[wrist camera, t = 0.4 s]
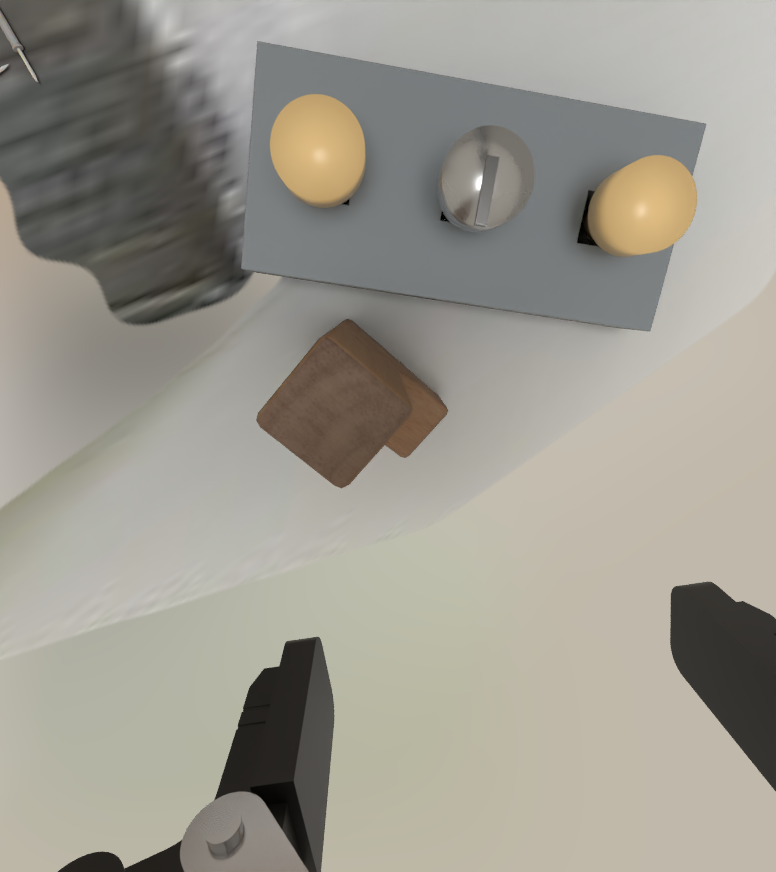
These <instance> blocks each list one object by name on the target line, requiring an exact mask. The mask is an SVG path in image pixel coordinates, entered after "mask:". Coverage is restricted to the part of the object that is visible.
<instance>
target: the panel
mask: <svg viewBox="0 0 776 872" xmlns="http://www.w3.org/2000/svg"><path fill="white" fill-rule="evenodd" d="M309 94H321V95H326V96H330V97H332V98H335V99H337V100H338V101H340V102H342V103H343V104H344V105H346V106H347V107H348V108H349V109H350V110H351V111H352V113H353V114H354V115H355V117H356V118H357V120H358V122H359V124H360V126H361V129H362V132H363V135H364V140H365V157H366V165H365V173H364V177H363V180H362V182H361V184H360V186H359V188H358V189H357V191H356V192H355V193H354V195H353V196H352V197H350V201H349V205H343V204H340V205H337V206H334V207H329V208H318V207H314V206H310V205H308V204H306V203H304V202H302V201H300V200H299V199H298V198H296V197H295V196H294V195H293V194H292V193H291V191H290V190H289V189H288V188H287V186H286V185H285V184H284V182H283V181H282V179H281V178H280V176H279V175H278V173H277V171H276V169H275V167H274V164H273V162H272V158H271V152H270V137H271V131H272V128H273V125H274V122H275V120H276V118H277V116H278V115H279V113H280V112H281V111H282V109H283V108H284V107H285V106H286V105H287V104H289V103H290V102H291V101H293V100H295V99H297V98H299V97H301V96H304V95H309ZM486 125H494V126H500V127H504V128H506V129H509V130H511V131H512V132H514V133H515V134H517V135H518V136H519V137H520V138H521V139H522V140H523V141H524V143H525V144H526V145H527V147H528V149H529V151H530V153H531V156H532V158H533V163H534V170H535V179H534V185H533V189H532V193H531V195H530V198H529V199H528V201H527V203H526V205H525V206H524V208H523V209H522V210H521V211H520V212H519V213H518V214H517V215H516V216H515V217H514V218H512V219H511V220H509V221H508V222H506V223H504V224H502V225H501V226H499V227H497V228H495V229H493V230H491V231H488V232H483V233H471V232H467V231H464V230H461V229H459V228H458V227H456V226H455V225H453V224H452V223H451V222H447V221H441V220H440V218H441V212H442V210H441V208H440V205H439V202H438V198H437V179H438V174H439V171H440V169H441V167H442V165H443V163H444V161H445V159H446V157H447V155H448V153H449V151H450V149H451V148H452V146H453V145H454V144H455V143H456V141H457V140H458V139H459V138H460V137H461V136H462V135H464V134H465V133H467V132H468V131H470V130H472V129H474V128H477V127H481V126H486ZM705 127H706V124H705V123H699V122H694V121H688V120H683V119H677V118H672V117H667V116H661V115H656V114H650V113H645V112H639V111H634V110H629V109H623V108H618V107H612V106H607V105H601V104H596V103H590V102H585V101H580V100H574V99H569V98H563V97H558V96H552V95H547V94H542V93H536V92H531V91H525V90H520V89H514V88H509V87H503V86H498V85H493V84H487V83H482V82H476V81H471V80H465V79H460V78H455V77H449V76H444V75H438V74H433V73H427V72H422V71H417V70H411V69H406V68H400V67H395V66H389V65H384V64H378V63H373V62H368V61H362V60H357V59H351V58H346V57H340V56H335V55H330V54H324V53H319V52H313V51H308V50H302V49H297V48H292V47H286V46H281V45H275V44H270V43H264V42H259V41H257V55H256V69H255V83H254V97H253V111H252V125H251V139H250V153H249V167H248V181H247V195H246V209H245V223H244V237H243V251H242V265H241V269H244V270H248V271H252V272H257V273H263V274H270V275H277V276H283V277H290V278H296V279H303V280H309V281H316V282H322V283H329V284H335V285H342V286H348V287H355V288H361V289H368V290H374V291H381V292H387V293H394V294H400V295H407V296H414V297H420V298H427V299H433V300H440V301H446V302H453V303H459V304H466V305H472V306H479V307H485V308H492V309H498V310H505V311H511V312H518V313H524V314H531V315H538V316H544V317H551V318H557V319H564V320H570V321H577V322H583V323H590V324H596V325H603V326H609V327H616V328H623V329H632V330H641V331H650V330H651V327H652V323H653V319H654V316H655V312H656V308H657V305H658V301H659V297H660V293H661V290H662V286H663V282H664V279H665V275H666V271H667V268H668V264H669V260H670V256H671V253H672V249H673V245H674V244H672V245H671V246H669V247H668V248H666V249H663V250H661V251H658V252H653V253H647V254H642V255H636V256H630V257H618V256H614V255H611V254H609V253H607V252H605V251H604V250H602V249H601V248H600V247H599V246H593V245H587V244H581V243H577V239H578V235H579V230H580V226H581V221H582V217H583V213H584V208H585V206H588V207H589V204H590V201H591V198H592V196H593V194H594V192H595V190H596V189H597V187H598V186H599V185H600V184H601V182H602V181H603V180H604V179H606V178H607V177H608V176H609V175H611V174H612V173H614V172H616V171H618V170H620V169H622V168H623V167H625V166H627V165H629V164H631V163H633V162H635V161H637V160H639V159H641V158H644V157H647V156H652V155H663V156H668V157H671V158H674V159H676V160H677V161H679V162H681V163H682V164H683V165H684V166H685V167H686V168H687V169H688V171H689V172H690V174H691V175H693V171H694V168H695V164H696V160H697V157H698V153H699V149H700V145H701V142H702V138H703V134H704V131H705Z"/></svg>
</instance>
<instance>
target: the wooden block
mask: <svg viewBox="0 0 776 872" xmlns="http://www.w3.org/2000/svg"><path fill="white" fill-rule="evenodd" d="M447 412H448V409H447V407H446V406H445V404H444V403H443V402H442V400H441V399H440V397H439V396H438V395H437V394H436V393H434V392H433V391H432V390H431V389H430V388H429V387H428V386H426V385H425V384H424V383H423V382H422V381H421V380H420V379H418V378H417V377H416V376H415V375H414V374H413V373H412V372H410V371H409V370H408V369H407V368H406V367H405V366H404V365H402V364H401V363H400V362H399V361H398V360H397V359H396V358H394V357H393V356H392V355H391V354H390V353H389V352H388V351H386V350H385V349H384V348H383V347H382V346H381V345H379V344H378V343H377V342H376V341H375V340H374V339H373V338H371V337H370V336H369V335H368V334H367V333H366V332H365V331H363V330H362V329H361V328H360V327H359V326H358V325H357V324H355V323H354V322H353V321H352V320H349V319H347V320H345V321H343V322H342V323H340V324H339V325H338V326H336V327H335V328H333V329H332V330H330V331H329V332H328V333H326V334H325V335H324V336H322V337H321V338H319V340H318V341H317V342H316V343H315V345H314V346H313V347H312V348H311V349H310V351H309V352H308V353H307V354H306V355H305V357H304V358H303V359H302V360H301V362H300V363H299V364H298V365H297V366H296V368H295V369H294V370H293V371H292V372H291V374H290V375H289V376H288V377H287V379H286V380H285V381H284V382H283V383H282V385H281V386H280V387H279V388H278V390H277V391H276V392H275V393H274V394H273V396H272V397H271V398H270V399H269V400H268V402H267V403H266V404H265V405H264V407H263V408H262V409H261V410H260V411H259V413H258V416H257V420H256V421H257V422H258V424H259V426H260V427H261V428H262V429H263V430H265V431H266V432H267V433H268V434H270V435H271V436H272V437H274V438H275V439H276V440H277V441H279V442H280V443H281V444H282V445H284V446H285V447H286V448H288V449H289V450H290V451H291V452H293V453H294V454H295V455H296V456H298V457H299V458H300V459H302V460H303V461H304V462H305V463H307V464H308V465H309V466H310V467H312V468H313V469H314V470H315V471H317V472H318V473H319V474H321V475H322V476H323V477H324V478H326V479H327V480H328V481H329V482H331V483H332V484H333V485H335V486H337V487H340V488H343V487H345V486H347V485H349V484H350V483H351V482H352V481H353V480H354V478H355V477H356V476H357V475H358V474H359V473H360V472H361V471H362V469H363V468H364V467H365V466H366V465H367V464H368V463H369V462H370V461H371V459H372V458H373V457H374V456H375V455H376V454H377V453H378V452H379V450H380V449H381V448H382V447H383V446H384V445H386V446H387V447H389V448H390V449H391V450H393V451H394V452H395V453H397V454H398V455H399V456H401V457H404V458H406V457H407V456H409V455H410V454H411V453H412V452H413V451H414V450H415V449H416V448H417V446H418V445H419V444H420V443H421V442H422V441H423V440H424V439H425V438H426V437H427V435H428V434H429V433H430V432H431V431H432V430H433V429H434V428H435V427H436V426H437V424H438V423H439V422H440V421H441V420H442V419H443V418H444V417H445V416H446V415H447Z"/></svg>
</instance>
